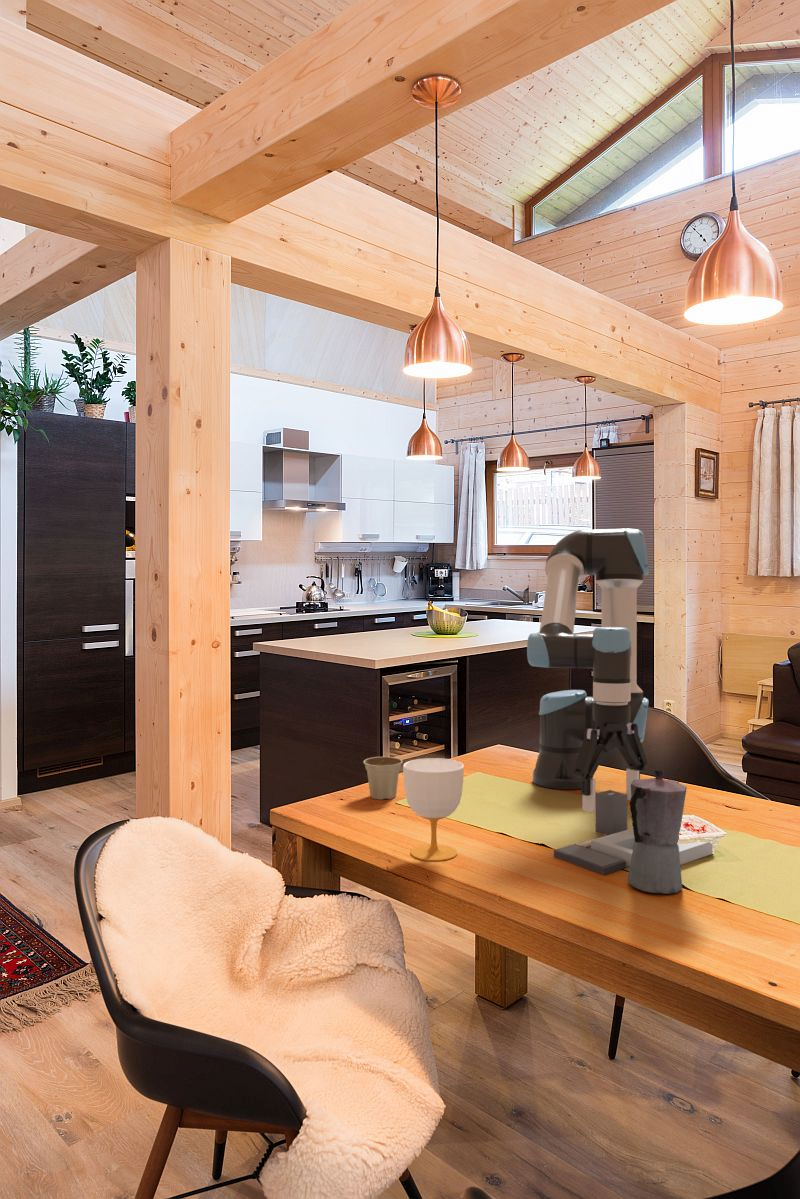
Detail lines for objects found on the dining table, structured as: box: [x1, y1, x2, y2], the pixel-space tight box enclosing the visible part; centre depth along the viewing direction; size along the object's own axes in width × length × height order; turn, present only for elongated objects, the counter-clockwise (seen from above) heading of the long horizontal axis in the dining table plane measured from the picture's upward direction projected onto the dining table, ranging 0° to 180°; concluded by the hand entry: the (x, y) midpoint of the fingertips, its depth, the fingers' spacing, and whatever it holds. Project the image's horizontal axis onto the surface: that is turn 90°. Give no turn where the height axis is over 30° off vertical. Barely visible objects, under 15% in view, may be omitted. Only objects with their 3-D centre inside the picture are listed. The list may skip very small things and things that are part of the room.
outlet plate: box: [590, 827, 713, 868], centre depth 156 cm, size 18×14×3 cm
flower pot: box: [363, 756, 404, 801], centre depth 197 cm, size 9×9×9 cm
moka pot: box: [627, 768, 688, 895], centre depth 139 cm, size 10×15×20 cm, turn 138°
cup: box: [402, 757, 465, 862], centre depth 156 cm, size 12×12×17 cm
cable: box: [577, 835, 608, 848], centre depth 161 cm, size 11×1×1 cm, turn 126°
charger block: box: [595, 789, 628, 836], centre depth 168 cm, size 4×4×8 cm
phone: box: [553, 843, 627, 876], centre depth 151 cm, size 6×12×1 cm, turn 36°
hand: (611, 805), depth 168 cm, fingers open, 13 cm apart
